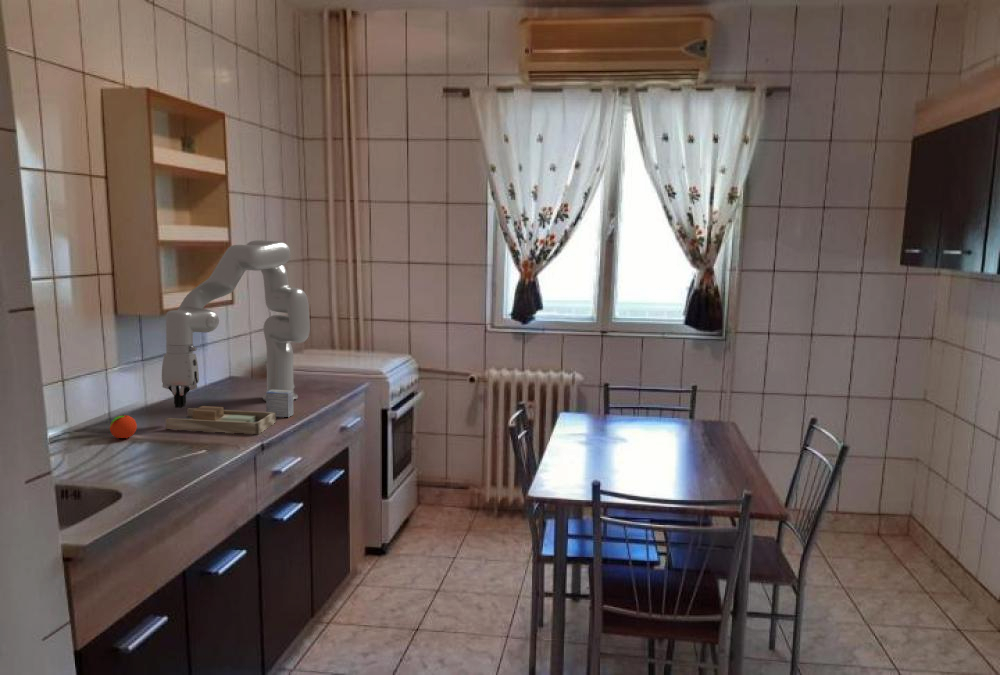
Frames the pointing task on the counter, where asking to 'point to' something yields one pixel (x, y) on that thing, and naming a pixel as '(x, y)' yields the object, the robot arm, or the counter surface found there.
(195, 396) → the counter surface
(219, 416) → the walnut block
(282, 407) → the medicine box
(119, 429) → the clementine
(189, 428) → the tray
